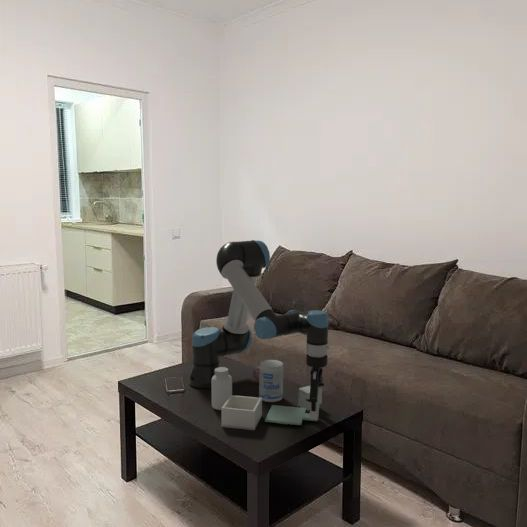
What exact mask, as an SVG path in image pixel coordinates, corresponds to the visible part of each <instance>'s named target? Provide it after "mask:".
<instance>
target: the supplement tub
mask: <svg viewBox="0 0 527 527" xmlns="http://www.w3.org/2000/svg"><path fill="white" fill-rule="evenodd" d="M259 366H260V374H259V382H258V383H259V384H258V389H259V390H258V398H262V402H267V403H276V402H280V401H281V400H282V399H283V396H284V395H283V394H284V391H283V390H284V362H282V361H280V360H277V359H264V360H262V361H260V363H259Z"/></svg>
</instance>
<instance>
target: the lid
mask: <svg viewBox="0 0 527 527" xmlns="http://www.w3.org/2000/svg"><path fill="white" fill-rule="evenodd" d="M319 412H320V404H319V401H318V419H317V420H316V419H310V412H309V413H307V411H306V408H301V407H299V406H296V407H295V406H287V405H286V406H285V405H277V404H271V407H270V409H269V411H268V413H267V415H266V416H265V419H264V422H266V423H275V424H280V425H288V424H289V425H293V426H294V425H295V426H302V423H303V421H312V422H318V420H319V417H320V416H319V415H320V413H319Z"/></svg>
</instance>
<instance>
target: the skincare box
mask: <svg viewBox="0 0 527 527" xmlns="http://www.w3.org/2000/svg"><path fill="white" fill-rule="evenodd" d="M308 399H310V385H307V386H303V387H299V388H298V401H297V402H298V403H297V407H299V406H300V407H299V408H306V410H307V411H306V412H310V411H309V410H310V402H308Z"/></svg>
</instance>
